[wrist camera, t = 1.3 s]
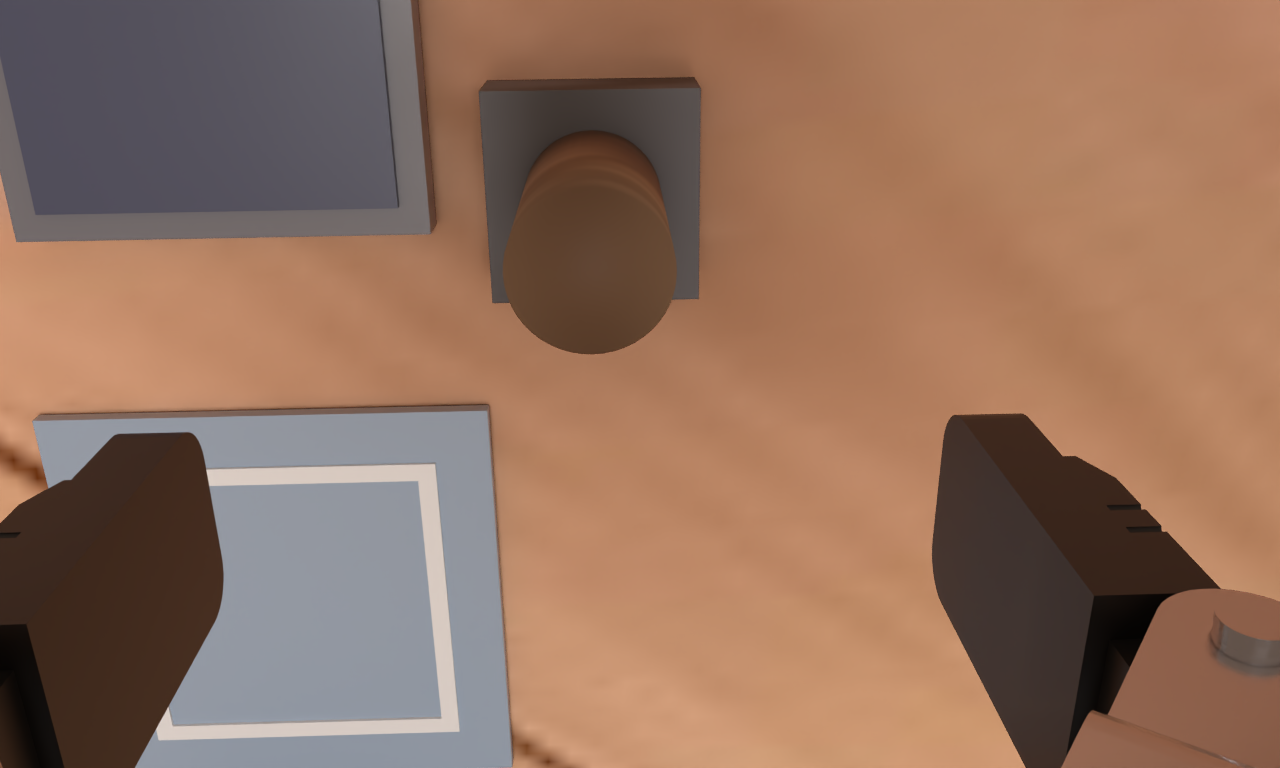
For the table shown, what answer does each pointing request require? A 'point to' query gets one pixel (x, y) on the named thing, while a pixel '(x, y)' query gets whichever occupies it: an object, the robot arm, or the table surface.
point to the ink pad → (213, 119)
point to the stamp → (592, 204)
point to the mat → (336, 588)
